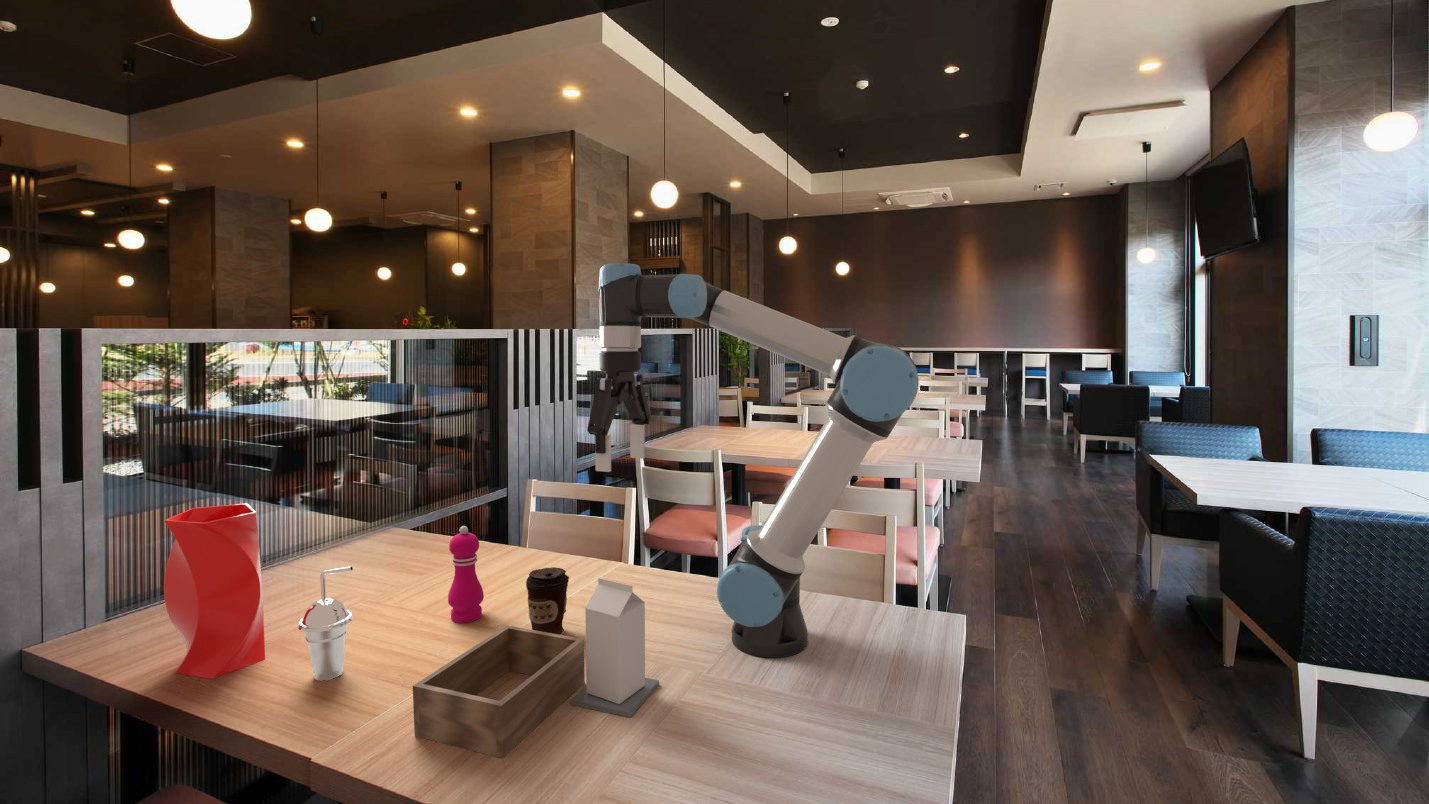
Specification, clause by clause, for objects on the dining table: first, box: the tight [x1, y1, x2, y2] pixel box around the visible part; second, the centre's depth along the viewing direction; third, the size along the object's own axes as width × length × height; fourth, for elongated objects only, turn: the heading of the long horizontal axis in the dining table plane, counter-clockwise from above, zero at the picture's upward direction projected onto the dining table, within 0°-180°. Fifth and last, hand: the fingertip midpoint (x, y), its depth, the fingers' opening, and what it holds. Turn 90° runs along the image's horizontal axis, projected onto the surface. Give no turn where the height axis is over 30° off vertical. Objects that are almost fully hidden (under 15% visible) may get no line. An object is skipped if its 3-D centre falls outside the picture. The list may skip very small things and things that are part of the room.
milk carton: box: [584, 577, 646, 704], centre depth 117 cm, size 7×7×19 cm
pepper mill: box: [447, 525, 485, 624], centre depth 148 cm, size 7×7×20 cm
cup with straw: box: [297, 566, 354, 682], centre depth 123 cm, size 8×9×20 cm
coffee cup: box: [525, 566, 570, 635], centre depth 141 cm, size 9×8×13 cm
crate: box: [412, 624, 586, 759], centre depth 113 cm, size 16×23×8 cm
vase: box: [163, 503, 266, 680], centre depth 129 cm, size 15×14×28 cm
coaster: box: [570, 677, 660, 718], centre depth 118 cm, size 11×11×1 cm
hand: (621, 464), depth 129 cm, fingers open, 13 cm apart
